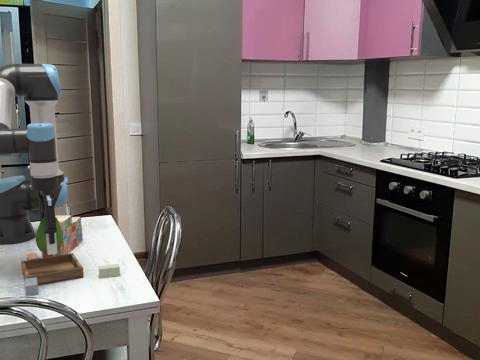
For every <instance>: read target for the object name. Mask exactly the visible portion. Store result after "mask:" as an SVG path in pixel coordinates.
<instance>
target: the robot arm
mask: <svg viewBox="0 0 480 360" xmlns="http://www.w3.org/2000/svg"><path fill="white" fill-rule="evenodd" d="M58 73H59V72H58V69H57V67H56V66H55V65H54V64H50V63H8V64H4V65H1V66H0V155H8V154H9V155H11V154H12V155H13V154H28V157H29V159H28V160H29V165H28V166H27V169H28V170H30V178H29V179H26V177H25V175H12V176H7V177H3V178H0V245H8V244H9V245H10V244H12V245H13V244H18V243H24V242H27V241H30V240H32V239H34V238H36V237H35V236H36V231H35V228H34V226H33V224H32V222H31V220H30V218H29V211H33V210H35V211H36V210H39V218H40V219H39V221H40V222H41V220H42V218H43V217H45V224H46V232H44V234H46V242H47V254H48V255H51V254H57V240H56V232H57V227H56V218H55V216H56V211H55V210H56V209H57V208H63V207H65V206H66V205H67V200H68V193H69V192H68V190H69V189H68V188H69V178H68V177H67V176H65V174H64V172H63V171H62V170H61V169H60V165H59V163H60V162H59V151H58V150H59V149H58V137H57V122H56V121H57V120H56V110H55V106H56V105H57V103H58V102H59V98H60V97H62V95H63V92H62V87H61V82H60V77H59V74H58ZM14 97H23V98H24V102H25V103H26V105H28V106H29V112H30V113H29V115H30V116H29V117H30V123H29V124H27V126H26V128H12V104H13V99H14ZM50 228H51V229H50Z"/></svg>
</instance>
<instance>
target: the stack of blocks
mask: <svg viewBox="0 0 480 360" xmlns="http://www.w3.org/2000/svg"><path fill="white" fill-rule="evenodd" d="M55 217H56V218H57V219H58V221H59V223H60V226H61V229H62V233H63V243H62V246H61V248H60V250H59V251H58V252H57V254H51V255H48V254H44V253H42V252H41V255H42V258H45V257H51V256H57V255H63V254H70V253H72V252H71V251H73V250H74V249H75V248H76V247H77V246H79V244H80V243H82V242H83V241H84V240H83V225H82V217H81V216H72V215H71V214H70V215H66V214H65V215H55Z"/></svg>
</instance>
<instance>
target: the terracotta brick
mask: <svg viewBox="0 0 480 360" xmlns="http://www.w3.org/2000/svg"><path fill="white" fill-rule="evenodd" d="M25 255H26V260H32V259H38V258H40V257H39V256H38V253H37V252H31V253H30V252H29V253H26V254H25Z"/></svg>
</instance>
